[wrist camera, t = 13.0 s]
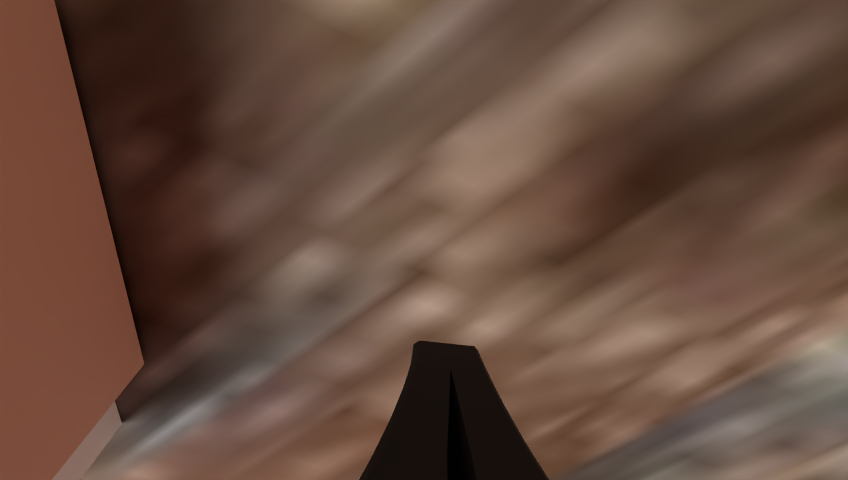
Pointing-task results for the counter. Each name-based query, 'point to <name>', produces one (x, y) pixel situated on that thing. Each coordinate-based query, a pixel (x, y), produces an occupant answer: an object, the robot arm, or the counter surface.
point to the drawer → (52, 258)
